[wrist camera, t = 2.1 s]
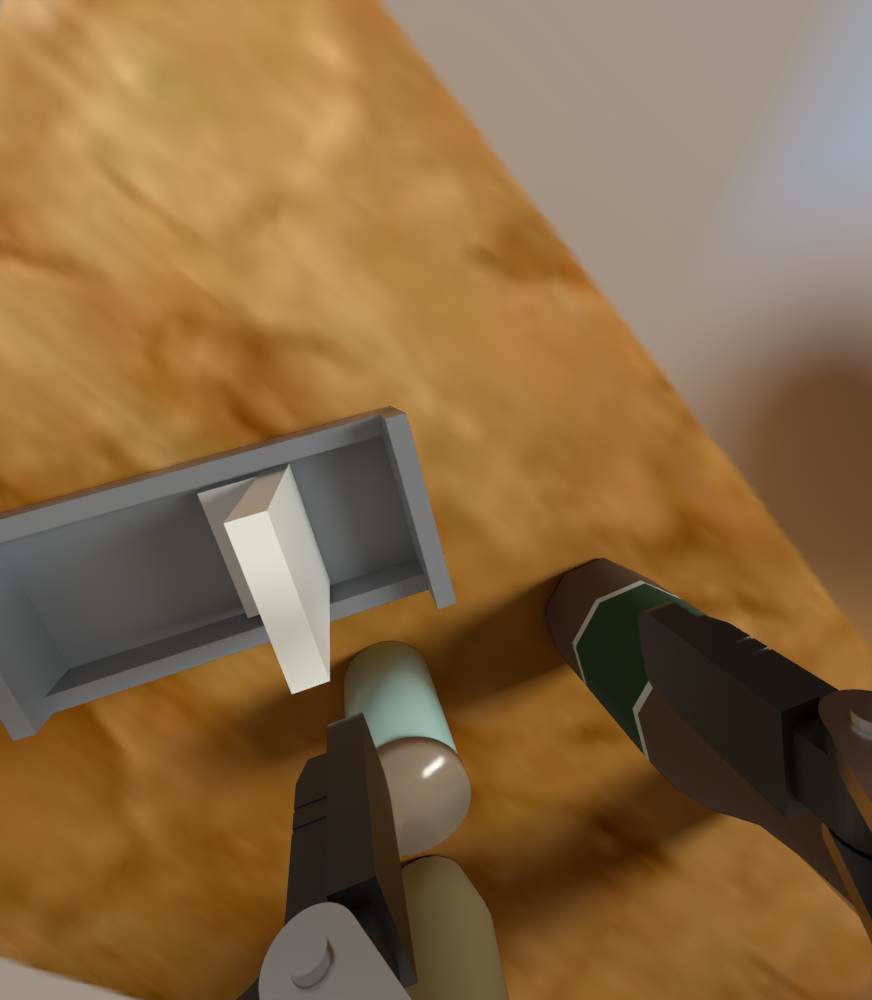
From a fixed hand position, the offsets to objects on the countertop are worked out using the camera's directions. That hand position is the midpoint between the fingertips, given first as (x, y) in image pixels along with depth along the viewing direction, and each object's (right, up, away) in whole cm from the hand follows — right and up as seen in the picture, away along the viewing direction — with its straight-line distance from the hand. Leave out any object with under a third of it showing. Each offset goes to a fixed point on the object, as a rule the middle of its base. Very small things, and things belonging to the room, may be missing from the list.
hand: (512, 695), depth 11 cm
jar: (-5, -8, +22) cm, 23 cm away
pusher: (-11, +2, +17) cm, 20 cm away
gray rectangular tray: (-14, +2, +17) cm, 22 cm away
